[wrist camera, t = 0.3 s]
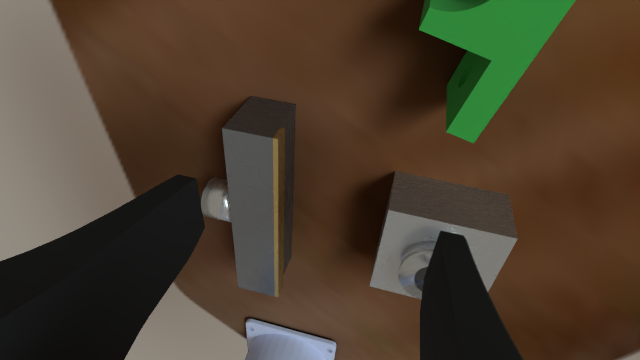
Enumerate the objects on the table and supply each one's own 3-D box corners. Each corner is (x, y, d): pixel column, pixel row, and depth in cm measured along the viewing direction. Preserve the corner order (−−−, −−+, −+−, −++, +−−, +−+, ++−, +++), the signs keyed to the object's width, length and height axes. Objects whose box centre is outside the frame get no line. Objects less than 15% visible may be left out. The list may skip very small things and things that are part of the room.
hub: (472, 265, 25) (477, 331, 21) (377, 242, 26) (366, 302, 22) (508, 192, 21) (521, 257, 17) (395, 168, 22) (385, 226, 18)
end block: (294, 257, 28) (278, 297, 25) (232, 241, 29) (209, 279, 26) (300, 105, 21) (278, 139, 18) (216, 89, 21) (182, 120, 19)
